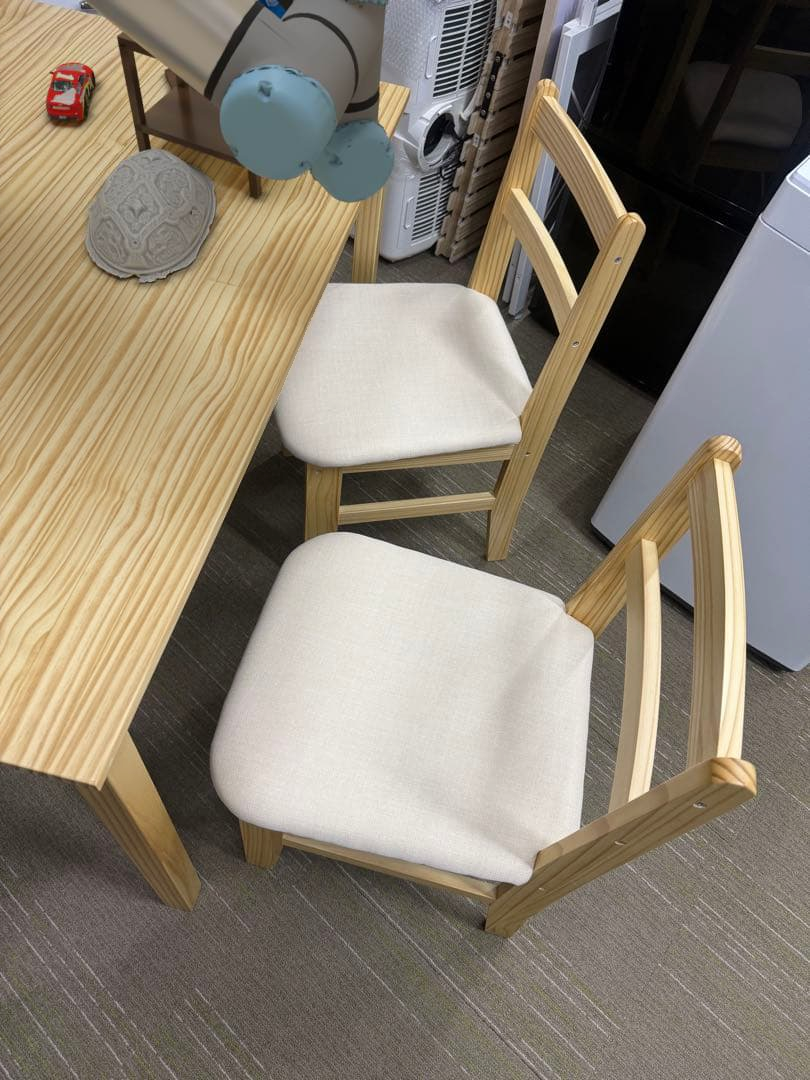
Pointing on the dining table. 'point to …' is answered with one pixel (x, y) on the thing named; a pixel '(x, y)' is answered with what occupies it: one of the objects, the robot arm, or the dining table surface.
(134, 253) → the grey domed shell
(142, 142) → the rack
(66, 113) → the race car
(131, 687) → the dining table surface
